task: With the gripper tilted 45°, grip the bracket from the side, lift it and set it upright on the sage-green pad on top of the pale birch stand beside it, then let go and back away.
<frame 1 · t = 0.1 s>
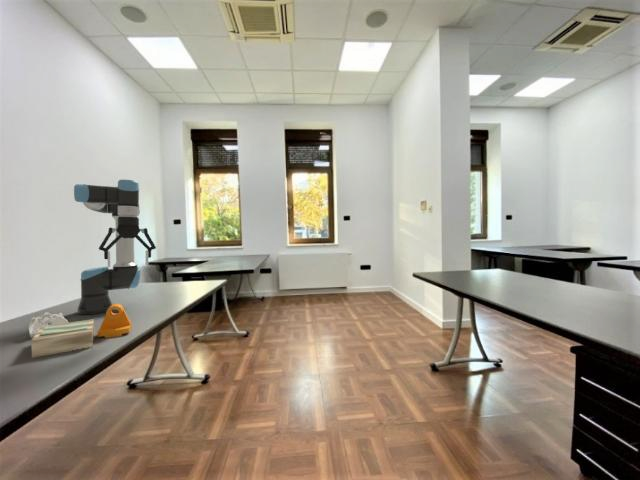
hand: (128, 266, 124), 28 cm above the table, tool pointing down, fingers open, 13 cm apart
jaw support: (47, 333, 121), on the table
riser stand: (66, 344, 109), on the table
bracket: (114, 334, 120), on the table
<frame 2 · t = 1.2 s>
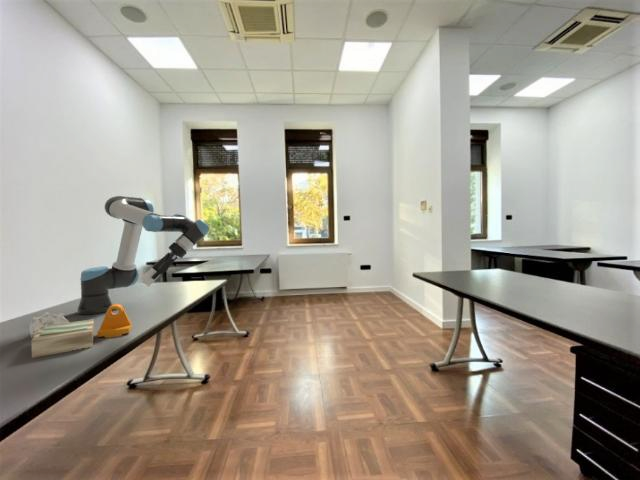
hand: (144, 282, 126), 20 cm above the table, tool tilted 45°, fingers open, 13 cm apart
nothing on the table moved.
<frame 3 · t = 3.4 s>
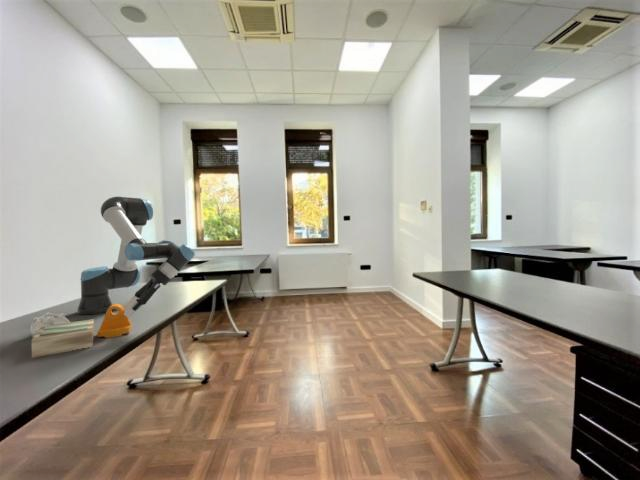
hand: (125, 312, 122), 9 cm above the table, tool tilted 45°, fingers open, 13 cm apart
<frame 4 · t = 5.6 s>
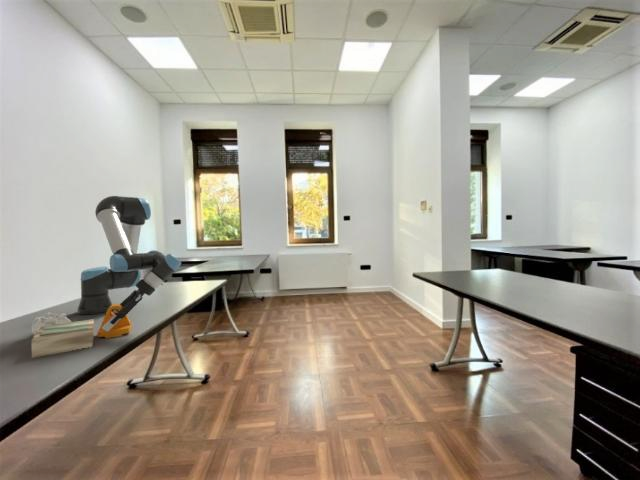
hand: (104, 326, 118), 4 cm above the table, tool tilted 45°, fingers closed on bracket, 8 cm apart
bracket: (114, 334, 120), on the table, touching gripper
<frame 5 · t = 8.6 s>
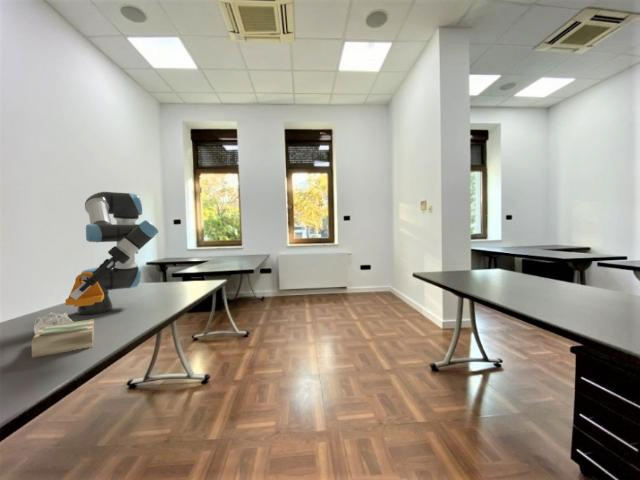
hand: (73, 295, 110), 18 cm above the table, tool tilted 45°, fingers closed on bracket, 7 cm apart
bracket: (85, 304, 112), point 14 cm above the table, touching gripper
when the fingers open (11 cm above the table, at t = 11.2 s): bracket drops 1 cm, resting on riser stand.
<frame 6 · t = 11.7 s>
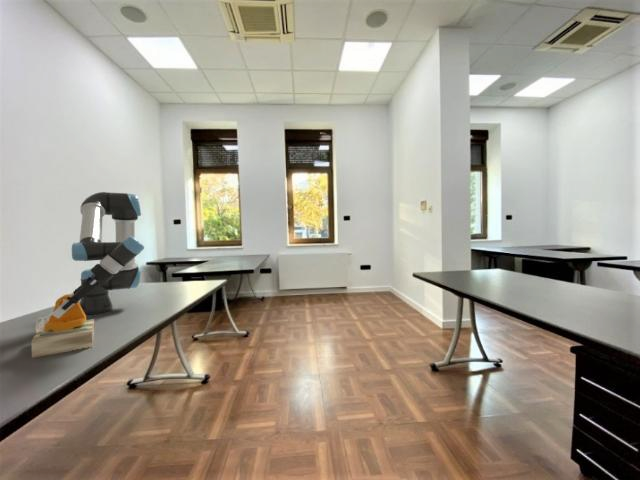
hand: (57, 312, 108), 13 cm above the table, tool tilted 45°, fingers open, 13 cm apart
bracket: (66, 328, 109), point 6 cm above the table, touching riser stand
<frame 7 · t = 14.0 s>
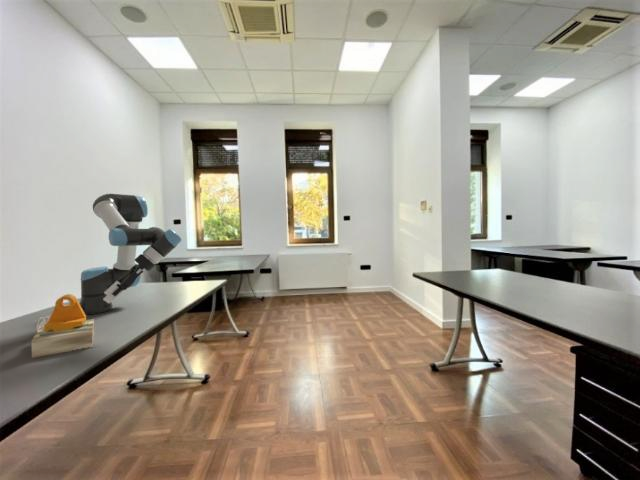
hand: (106, 298, 117), 16 cm above the table, tool tilted 45°, fingers open, 13 cm apart
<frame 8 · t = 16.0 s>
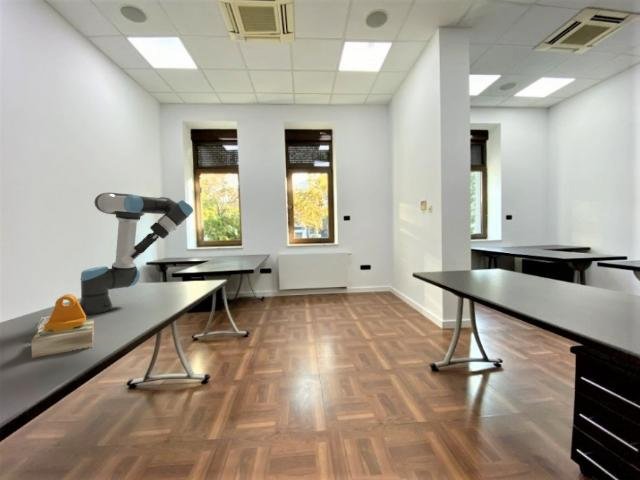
hand: (124, 262, 124), 30 cm above the table, tool tilted 45°, fingers open, 13 cm apart
at the end: bracket inside the target area on the riser stand (0.3 cm from its centre), point 6.2 cm above the riser stand's base; bracket tilted 0°; the gripper is holding nothing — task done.
